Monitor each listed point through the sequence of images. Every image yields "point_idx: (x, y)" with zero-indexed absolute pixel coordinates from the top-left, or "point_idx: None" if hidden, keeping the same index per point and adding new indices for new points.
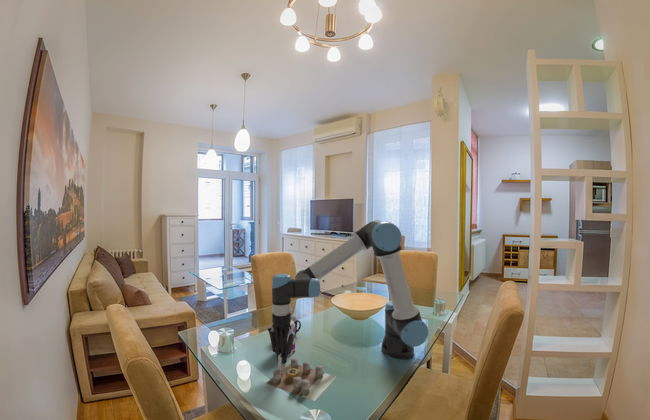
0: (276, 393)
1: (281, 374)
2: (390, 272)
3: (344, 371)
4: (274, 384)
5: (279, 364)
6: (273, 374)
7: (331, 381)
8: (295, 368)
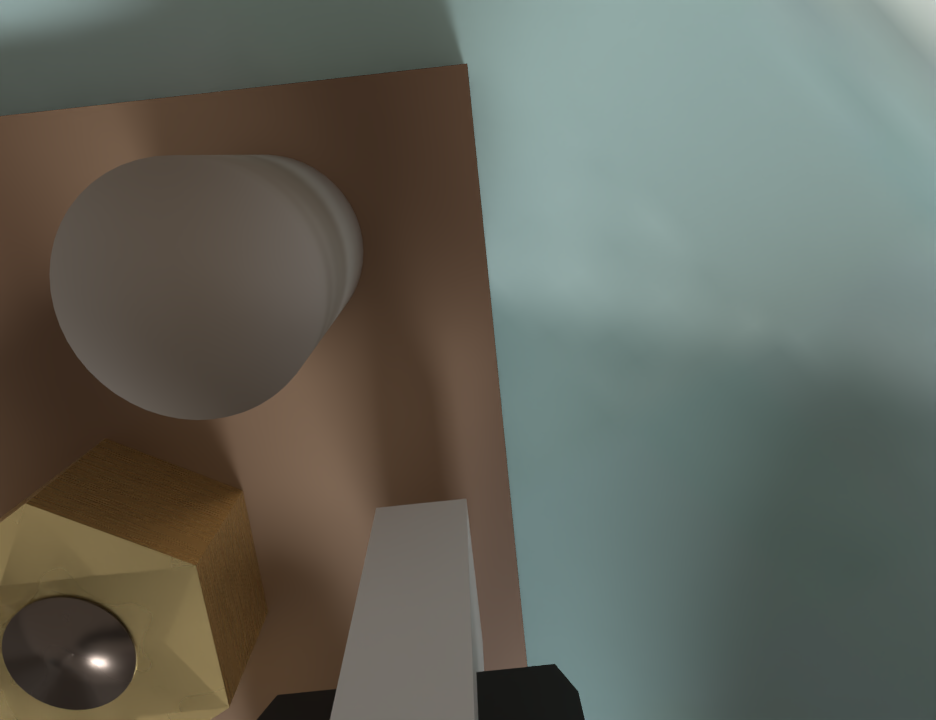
0: (77, 21)
1: None
2: None
3: None
4: (253, 148)
5: (420, 619)
6: (232, 161)
7: None
8: None
